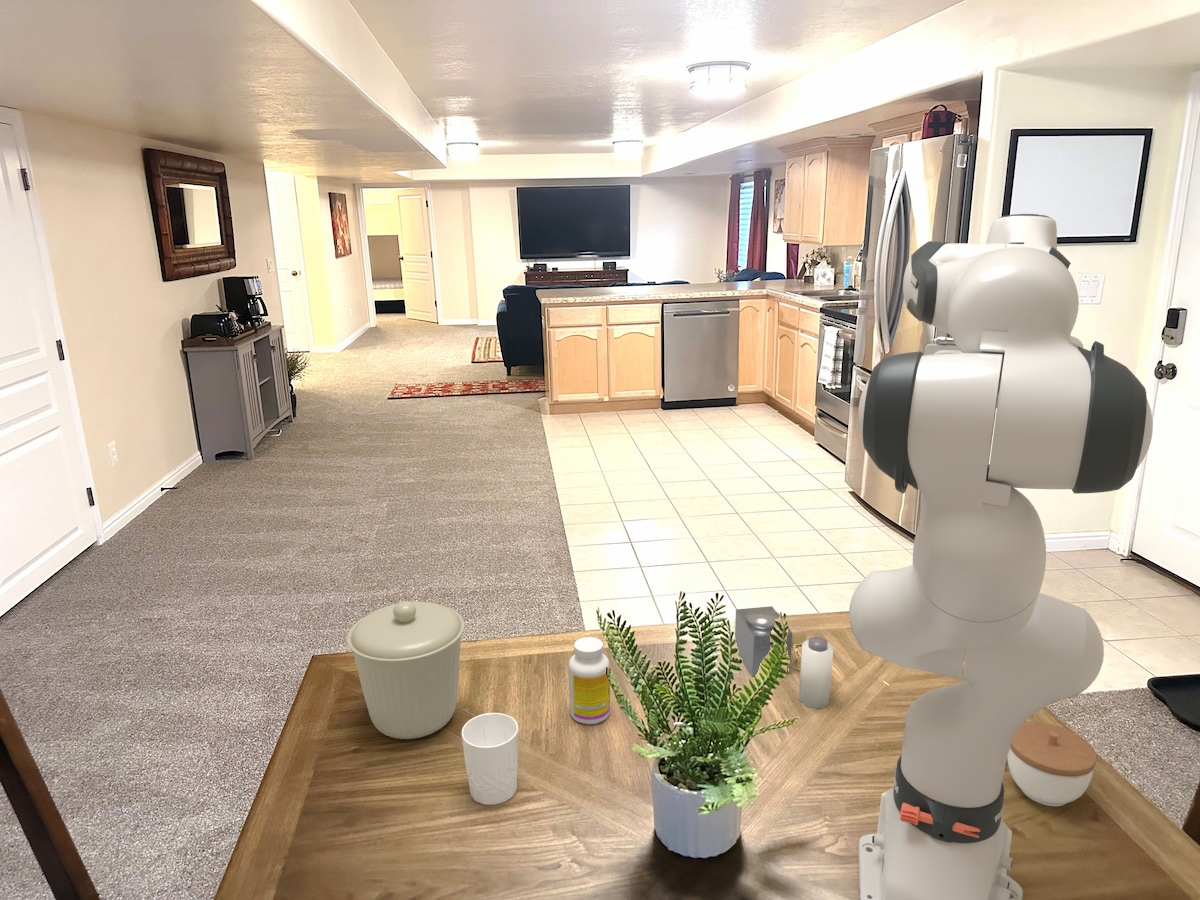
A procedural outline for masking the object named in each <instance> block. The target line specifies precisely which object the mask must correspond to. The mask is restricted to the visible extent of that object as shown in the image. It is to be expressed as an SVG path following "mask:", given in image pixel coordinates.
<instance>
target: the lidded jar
mask: <svg viewBox="0 0 1200 900" xmlns="http://www.w3.org/2000/svg"><path fill="white" fill-rule="evenodd" d="M1097 760H1098V756H1097V752H1096V750H1095V749H1094V747H1093V746H1092V745H1091V744H1090V743H1089V742H1088V740H1086V739H1085V738H1083V736H1080V735H1079V734H1078V733H1077V732H1074V731H1072V730H1071V729H1068V728H1065V727H1063V726H1059V725H1057V724H1053V723H1049V722H1042V721H1025V722H1024V723H1023V724H1022V726H1021V727H1020V728H1019V729H1018V731H1017V732H1016V734H1015V736H1014V738H1013V740H1012V742H1011V745H1010V749H1009V752H1008V756H1007V765H1008V770H1009V773H1010V775H1011V778H1012V779H1013V781H1014V782H1015V784H1016V785H1017V786H1018V787H1019V788H1020V790H1021V792H1022V793H1023V794H1024V796H1025V797H1027V798H1029V799H1030V800H1032V801H1034V802H1035V803H1038V804H1040V805H1043V806H1048V807H1062V806H1065V805H1066V804H1069V803H1071V802H1074V801H1076V800H1077V799H1079V798H1080V797H1082V796H1083V794H1084V793H1085V792H1086V791H1087V789H1088V788H1089V785H1090V784H1091V781H1092V778H1093V774H1094V772H1095V771H1094V770H1095V768H1096V765H1097Z"/></svg>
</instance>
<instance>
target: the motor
mask: <svg viewBox="0 0 1200 900" xmlns="http://www.w3.org/2000/svg"><path fill="white" fill-rule="evenodd" d="M779 616H781V615H780V613H779V612H778V611H776V609H774V606H773V605H771V606H761V607H749V608H739V609H738V608H737V609H735V626H734V639H735V638H736V643H737V647H738V649H739V654H738V657H739V658H740V657H741V658H742V659H743V661H742V663H743V664H744V666H745V668H746V669H747V672H748V673H749V674H750V676H751V675H752V676H751V677H752V678H753V676H755V675H756V674H757V672H758V669H759V666H760V663H761V662H762V660H763V658H764V657H765V656H766V655H767V654H768V652H769V650H770V633H771V631H772V629H773V627H774V625H775V619H778V618H779ZM806 640H807V635H806V633H804V632H803V633H793V632H792V630H791V629H790V627H788V635H787V641H786V644H787V650H788V655H789V657H790V660H791V659H792V647H793V645H794V644H800V643H803V642H804V641H806ZM793 648H794V647H793ZM796 653H797V654H798V651H797V652H796ZM796 653H795V654H796ZM797 654H796V655H797ZM741 658H740V659H741ZM742 659H741V660H742ZM794 659H795V660H794V668H795V667H796V669H800V668H801V657H795V658H794ZM791 661H792V660H791ZM791 661H790V664H789V665H788V666H787V673H786V674H789V673H788V668H789V672H790V673H791V663H792V662H791ZM796 669H795V670H796ZM755 677H756V676H755Z"/></svg>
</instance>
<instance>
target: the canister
mask: <svg viewBox="0 0 1200 900" xmlns="http://www.w3.org/2000/svg"><path fill="white" fill-rule="evenodd" d="M465 626H466V624H465V621H464V618H463V616H462V615H461V614H460V613H459V612H458V611H456V610H454V609H453V608H451V607H448V606H444V605H441V604H439V603H434V602H429V601H409V600H404V601H400V602H397V603H394V604H391V605H387V606H384V607H381V608H378V609H376V610H373V611H372V612H370V613H369V614H367V615H365V616H364V617H362V618H360V619H359V620H357V622H355V623H354V624H353V625H352V626H351V628H350V630H348V632H347V636H346V644H347V647H348V648H349V650H350V651H351V652H352V653H353V656H354V662H355V665H356V669H357V673H358V678H359V681H360V685H361V689H362V692H363V693H362V694H363V697H364V700H365V704H366V707H367V710H368V714H369V717H370V720H371V722H372V724H373V726H374V727H375V728H376V729H377V730H378V731H379V732H380V733H382V734H383V735H385V736H387V737H389V738H394V739H396V740H398V739H400V740H412V739H413V740H415V739H420V738H423V737H427V736H428V735H429V736H430V735H432V734H433V733H436V732H438V731H439V730H441V729H442V728H443V727H444V726H446V725H447V724H448V722H449V721H450V720H451V718H452V717H453V716H454V713H455V710H456V708H457V701H458V689H459V680H460V679H459V675H460V658H461V655H460V654H461V639H462V638H461V637H462V636H463V634H464V632H465V629H466V628H465Z"/></svg>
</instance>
